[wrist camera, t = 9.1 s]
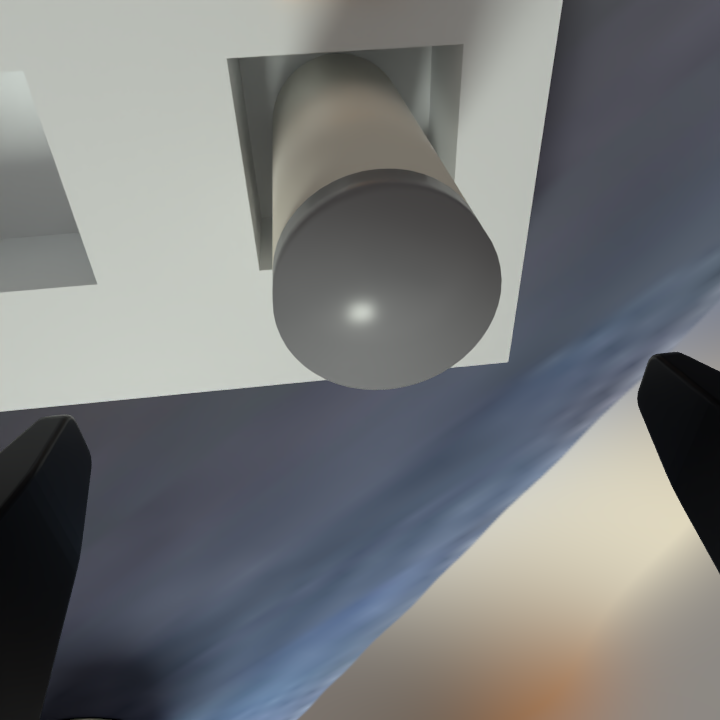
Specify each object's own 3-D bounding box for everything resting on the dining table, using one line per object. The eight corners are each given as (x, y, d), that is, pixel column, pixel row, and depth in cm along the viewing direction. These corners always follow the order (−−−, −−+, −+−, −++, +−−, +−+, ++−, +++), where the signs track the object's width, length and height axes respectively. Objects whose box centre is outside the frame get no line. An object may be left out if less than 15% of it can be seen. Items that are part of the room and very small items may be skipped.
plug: (280, 193, 19) (286, 400, 12) (264, 57, 17) (257, 202, 9) (403, 184, 20) (489, 378, 12) (404, 49, 17) (515, 182, 9)
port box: (-53, 339, 22) (-119, 429, 19) (-332, -155, 14) (-560, -173, 10) (473, 292, 24) (510, 367, 20) (519, -185, 15) (600, -210, 11)
